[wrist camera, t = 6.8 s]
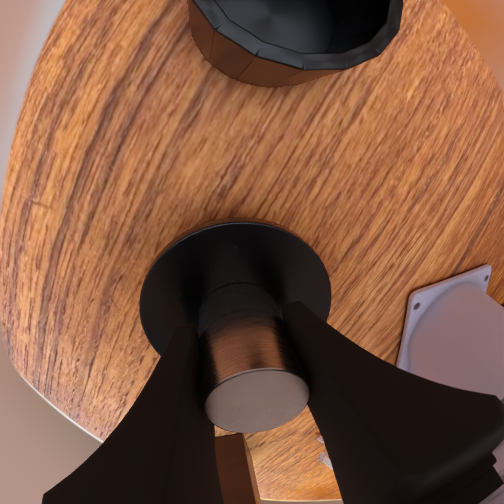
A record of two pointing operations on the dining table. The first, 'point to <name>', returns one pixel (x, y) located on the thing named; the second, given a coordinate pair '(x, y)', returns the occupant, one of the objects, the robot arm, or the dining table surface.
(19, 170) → the dining table surface
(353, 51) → the cup
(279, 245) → the lid
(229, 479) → the stand
